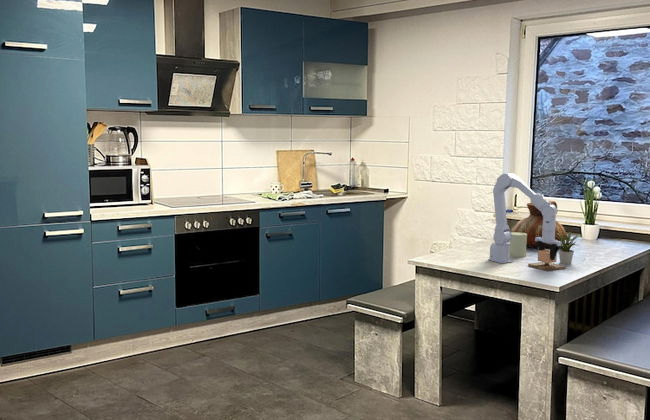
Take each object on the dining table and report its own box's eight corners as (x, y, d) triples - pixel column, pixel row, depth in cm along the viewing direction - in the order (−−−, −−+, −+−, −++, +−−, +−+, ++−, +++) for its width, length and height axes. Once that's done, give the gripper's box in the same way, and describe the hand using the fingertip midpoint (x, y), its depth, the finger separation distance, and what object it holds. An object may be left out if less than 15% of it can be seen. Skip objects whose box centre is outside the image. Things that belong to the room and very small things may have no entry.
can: (521, 258, 337) (522, 234, 336) (504, 255, 343) (505, 232, 342) (529, 255, 344) (530, 232, 342) (512, 253, 350) (513, 230, 349)
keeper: (528, 266, 318) (528, 256, 317) (546, 263, 324) (546, 254, 323) (547, 271, 307) (547, 261, 307) (565, 268, 313) (566, 259, 312)
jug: (559, 252, 352) (561, 206, 348) (503, 246, 367) (505, 202, 364) (570, 244, 377) (573, 201, 374) (518, 239, 393) (520, 197, 389)
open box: (537, 260, 316) (538, 250, 316) (546, 259, 319) (547, 249, 318) (547, 263, 311) (547, 252, 310) (556, 261, 314) (556, 251, 313)
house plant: (585, 267, 317) (587, 233, 314) (554, 266, 319) (556, 232, 317) (579, 261, 330) (581, 229, 328) (550, 260, 333) (552, 228, 331)
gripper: (531, 228, 318) (529, 256, 319) (554, 233, 305) (552, 262, 307) (541, 227, 321) (540, 255, 323) (565, 232, 308) (563, 260, 310)
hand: (547, 258), depth 315 cm, fingers closed on open box, 6 cm apart
